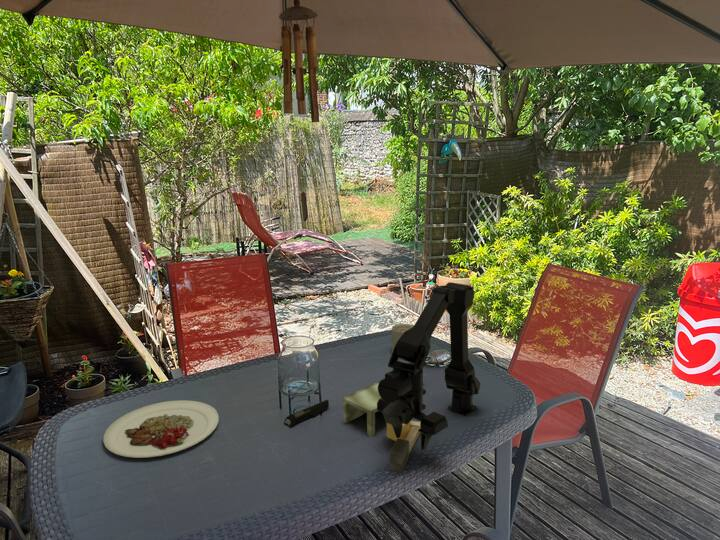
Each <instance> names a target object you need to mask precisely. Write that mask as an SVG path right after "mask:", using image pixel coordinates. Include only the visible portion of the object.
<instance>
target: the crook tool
mask: <svg viewBox="0 0 720 540" xmlns="http://www.w3.org/2000/svg"><path fill="white" fill-rule="evenodd" d="M420 423H421V421H417V420H416V421H415V420H411V421H410V432H409V434H408V435H407V437H406V439H405V440H402V439H397V440H396V441H395V442H394V444H393V445H392V447H391V449H390V450H389V470H390V471H394V472H398V473H403V470H404V469H405V467H406V465H407V463H408V462H409V460H410V453H411V451H412V449H414V446H415V444H416V443H417V440H418V438H419V436H421V433H420V432H419V431H418V430H419V429H420V428H421V427H420Z"/></svg>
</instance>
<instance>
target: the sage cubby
mask: <svg viewBox="0 0 720 540" xmlns="http://www.w3.org/2000/svg"><path fill="white" fill-rule="evenodd" d="M380 381H381V380H378V381H377V382H375V383H373V384H371V385H369V386H365V387H364V388H361V389H359V390H357V391H355V392H353V393H351V394H349V395H346V396H344V397H342V413H343V414H342V415H343V416H342V417H343V419H342V421H343V423H344V424H348V423H349V421H350V422H351V421H354V420H355V419H357V418H359V417H361V416H363V415H365V414H366V426H367V427H366V428H367V429H366V432H367V433H366V435H368V436H369V437H373V436H375V435H376V413H377V412H379V411H378V410H377V402H378V400H379V399H380V398H381V397H380V395H379V392H378V385H379V382H380ZM358 416H359V417H358ZM347 422H348V423H347Z"/></svg>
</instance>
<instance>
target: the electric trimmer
mask: <svg viewBox="0 0 720 540" xmlns="http://www.w3.org/2000/svg"><path fill="white" fill-rule="evenodd" d="M320 402H321V404H320ZM320 402H318V403H316V404H313V405H312V406H311V405H310V406H309V407H308V406H307V408H304V409H301V410H299V411H296V412H294V413H290V414H289V415H288V416H286V417H285V418H284V422H283V425H284V426H286V427H288V428H294V427H295V426H296V424H298V423H300V422H302V421H304V420H306V419H308V418H310V417H316V416H318V415H319V414H320V413H322V412H324V411H325V410H327V409H328V408H329V406H330V404H329V403H330V401H329V400H328V399H325V400H323V401H320Z"/></svg>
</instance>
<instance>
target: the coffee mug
mask: <svg viewBox="0 0 720 540" xmlns="http://www.w3.org/2000/svg"><path fill="white" fill-rule="evenodd" d="M414 325H415V324H411V323H397V324H393V325H392V327H391V354H392V353H393V350H394V347H395V344H396V342H397V341H398V340H399V338H400V337H401V336H402V334H403V333H404V332H405V331H407V330H409V329H411V328H412V327H413V326H414Z"/></svg>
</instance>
